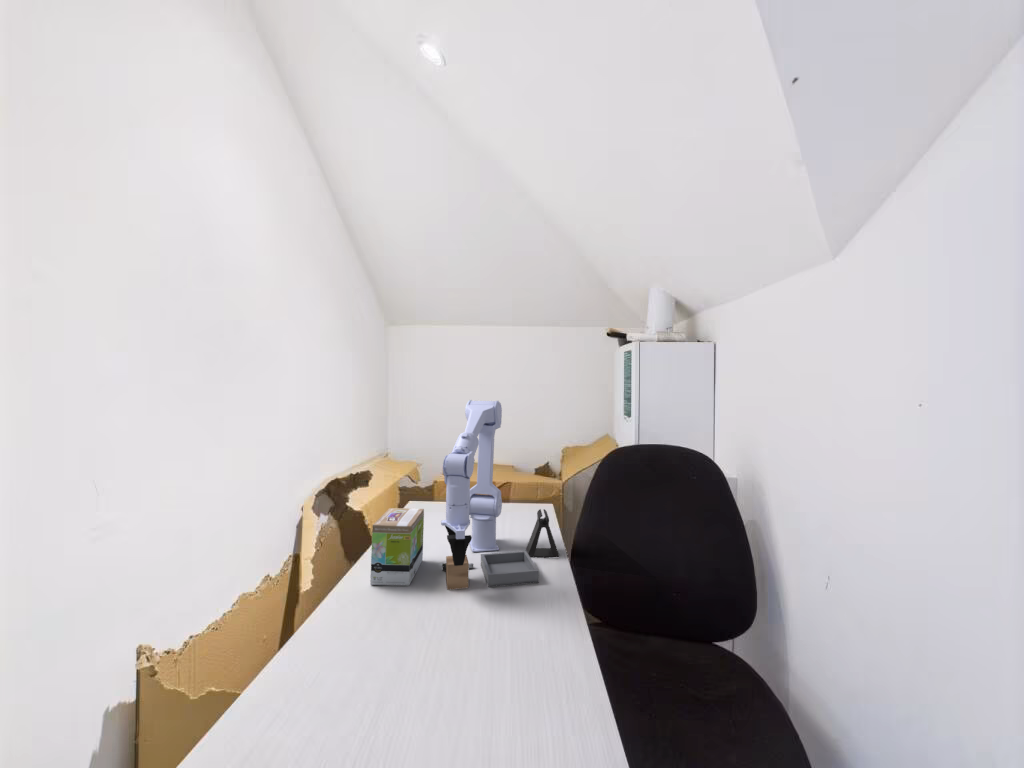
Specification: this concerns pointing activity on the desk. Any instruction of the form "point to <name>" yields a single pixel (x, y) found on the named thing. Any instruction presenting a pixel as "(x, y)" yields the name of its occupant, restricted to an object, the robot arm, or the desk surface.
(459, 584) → the block
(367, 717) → the desk surface
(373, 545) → the tea box
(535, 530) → the phone stand
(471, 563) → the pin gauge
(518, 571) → the tray
